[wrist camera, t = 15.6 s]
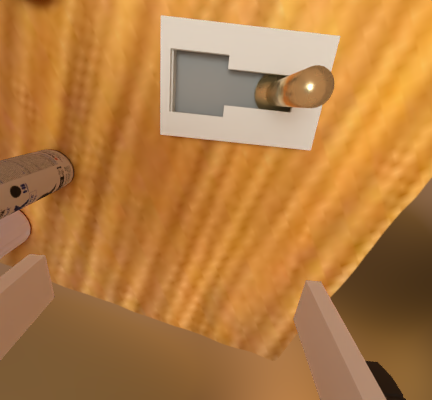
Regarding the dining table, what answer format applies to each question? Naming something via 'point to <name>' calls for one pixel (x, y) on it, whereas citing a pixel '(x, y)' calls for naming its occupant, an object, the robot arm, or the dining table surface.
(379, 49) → the dining table surface
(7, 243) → the soap bottle
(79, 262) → the dining table surface
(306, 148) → the board
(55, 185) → the spray can
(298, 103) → the peg
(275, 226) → the dining table surface
